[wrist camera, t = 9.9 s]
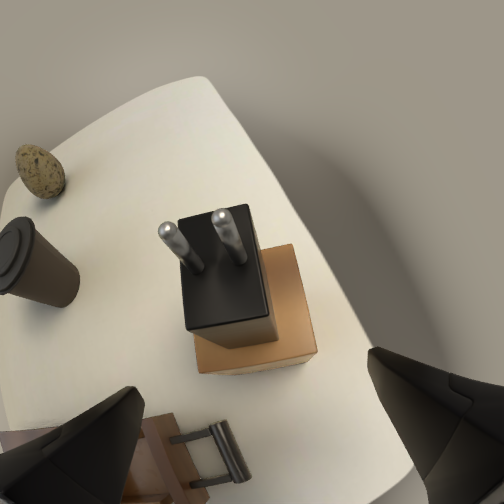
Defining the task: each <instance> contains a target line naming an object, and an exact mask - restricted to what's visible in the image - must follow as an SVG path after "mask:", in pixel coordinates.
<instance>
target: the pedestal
mask: <svg viewBox="0 0 504 504" xmlns="http://www.w3.org/2000/svg"><path fill="white" fill-rule="evenodd" d="M261 253H262V257H263V261H264V265H265V269H266V274H267V279H268V284H269V289H270V294H271V299H272V304H273V309H274V314H275V319H276V324H277V329H278V334H279V340H278V341H273V342H268V343H263V344H258V345H252V346H247V347H241V348H235V349H227V348H224V347H222V346H220V345H217V344H215V343H213V342H211V341H208V340H206V339H204V338H202V337H200V336H198V335H195V334H193V335H194V343H195V350H196V358H197V365H198V372H199V373H200V374H218V375H240V374H246V373H253V372H259V371H264V370H270V369H275V368H280V367H285V366H290V365H295V364H300V363H304V362H308V361H309V360H310V359H311V358H312V357H313V356H314V355H315V354H316V353H317V352H318V351H317V346H316V341H315V337H314V332H313V328H312V323H311V319H310V314H309V310H308V306H307V301H306V297H305V293H304V289H303V284H302V280H301V276H300V272H299V268H298V264H297V260H296V256H295V252H294V248H293V245H292V244H287V245H282V246H278V247H273V248H268V249H263V250H261Z"/></svg>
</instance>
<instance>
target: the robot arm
mask: <svg viewBox="0 0 504 504" xmlns="http://www.w3.org/2000/svg"><path fill="white" fill-rule="evenodd" d="M367 367H368V372H369V374H370V377H371V379H372V382H373V384H374V387H375V390H376V392H377V395H378V397H379V400H380V402H381V404H382V405H383V407H384V409H385V411H386V413H387V414H388V416H389V418H390V420H391V422H392V423H393V425H394V427H395V429H396V431H397V433H398V435H399V436H400V438H401V440H402V442H403V444H404V446H405V448H406V450H407V451H408V453H409V455H410V457H411V459H412V461H413V463H414V465H415V467H416V469H417V471H418V473H419V475H420V476H421V478H422V480H423V482H424V485H425V487H426V490H427V494H428V501H429V504H504V386H499V385H494V384H489V383H485V382H480V381H476V380H472V379H469V378H465V377H462V376H459V375H456V374H453V373H449V372H446V371H443V370H440V369H438V368H435V367H432V366H429V365H426V364H424V363H421V362H418V361H415V360H413V359H410V358H407V357H404V356H402V355H399V354H396V353H394V352H391V351H389V350H386V349H384V348H381V347H375V348H371V349H369V350H368V361H367ZM144 407H145V402H144V399H143V398H142V396H141V395H140V393H139V391H138V390H137V388H136V387H134V386H127V387H125V388H123V389H121V390H120V391H118V392H117V393H115V394H113V395H112V396H110V397H108V398H107V399H105V400H104V401H102V402H100V403H99V404H97V405H95V406H94V407H92V408H90V409H89V410H87V411H85V412H84V413H82V414H80V415H79V416H77V417H75V418H73V419H72V420H70V421H68V422H67V423H65V424H63V425H61V426H59V427H57V428H55V429H54V430H52V431H50V432H48V433H46V434H44V435H42V436H40V437H38V438H36V439H34V440H31V441H29V442H27V443H25V444H23V445H20V446H18V447H16V448H13V449H11V450H9V451H6V452H4V453H2V454H0V504H120V503H121V499H122V495H123V491H124V487H125V484H126V480H127V476H128V473H129V469H130V465H131V462H132V458H133V455H134V451H135V448H136V445H137V441H138V438H139V434H140V430H141V424H142V418H143V413H144Z"/></svg>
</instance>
